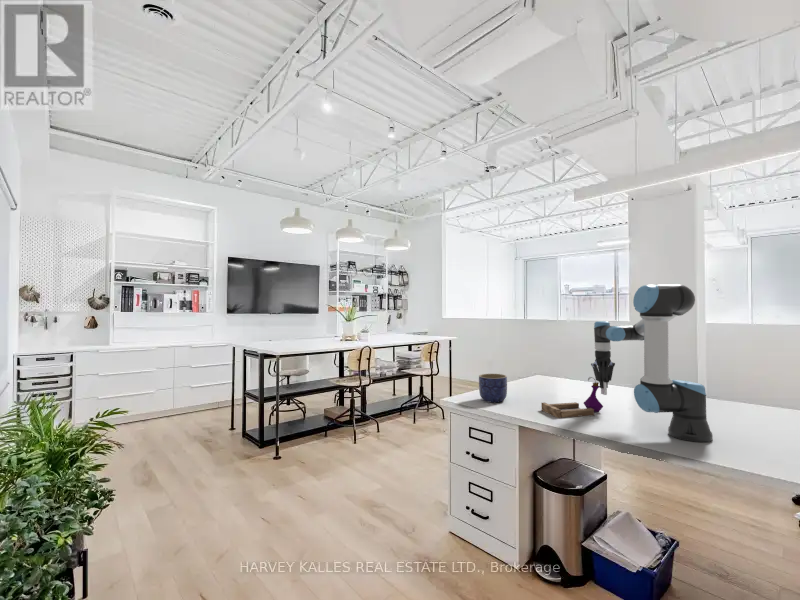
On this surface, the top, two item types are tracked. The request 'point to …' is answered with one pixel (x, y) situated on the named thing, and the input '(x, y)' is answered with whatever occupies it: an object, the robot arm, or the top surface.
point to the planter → (493, 387)
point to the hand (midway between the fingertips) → (603, 394)
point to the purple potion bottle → (593, 398)
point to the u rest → (566, 410)
